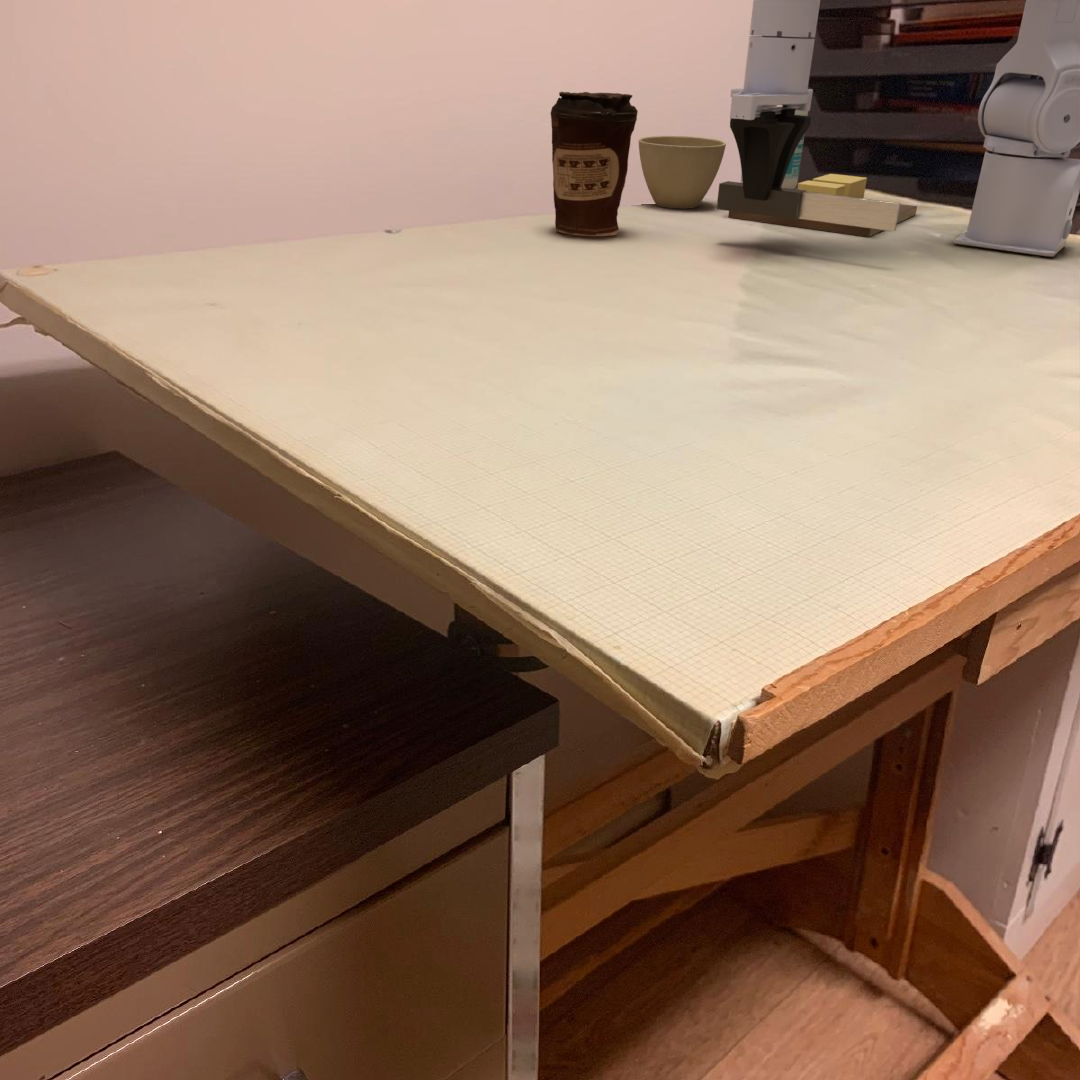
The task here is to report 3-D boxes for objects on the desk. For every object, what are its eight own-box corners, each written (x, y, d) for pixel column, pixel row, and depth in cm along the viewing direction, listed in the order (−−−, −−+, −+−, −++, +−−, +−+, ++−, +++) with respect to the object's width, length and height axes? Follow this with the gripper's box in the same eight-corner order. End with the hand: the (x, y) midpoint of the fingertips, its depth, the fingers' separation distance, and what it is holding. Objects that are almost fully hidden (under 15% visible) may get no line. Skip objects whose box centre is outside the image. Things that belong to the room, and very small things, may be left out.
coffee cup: (622, 244, 96) (632, 97, 90) (538, 237, 97) (543, 93, 91) (632, 228, 103) (643, 92, 97) (554, 222, 105) (560, 87, 98)
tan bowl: (630, 196, 121) (635, 134, 118) (712, 199, 121) (719, 137, 118) (637, 211, 112) (642, 143, 109) (724, 214, 113) (732, 147, 109)
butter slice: (841, 213, 110) (846, 184, 109) (832, 216, 108) (837, 187, 106) (803, 208, 112) (807, 180, 111) (793, 211, 110) (798, 183, 109)
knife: (898, 229, 89) (903, 201, 88) (891, 232, 88) (897, 204, 87) (724, 206, 97) (727, 181, 96) (716, 209, 96) (719, 183, 95)
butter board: (915, 214, 117) (917, 206, 116) (868, 237, 103) (870, 227, 103) (786, 198, 124) (788, 190, 124) (727, 217, 111) (729, 208, 110)
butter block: (862, 204, 116) (867, 177, 114) (845, 211, 111) (850, 183, 110) (826, 200, 118) (830, 173, 116) (808, 206, 113) (812, 178, 112)
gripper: (770, 35, 95) (751, 184, 101) (705, 35, 84) (689, 201, 91) (842, 38, 92) (818, 192, 98) (784, 38, 81) (761, 211, 87)
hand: (761, 197), depth 94 cm, fingers closed on knife, 2 cm apart
